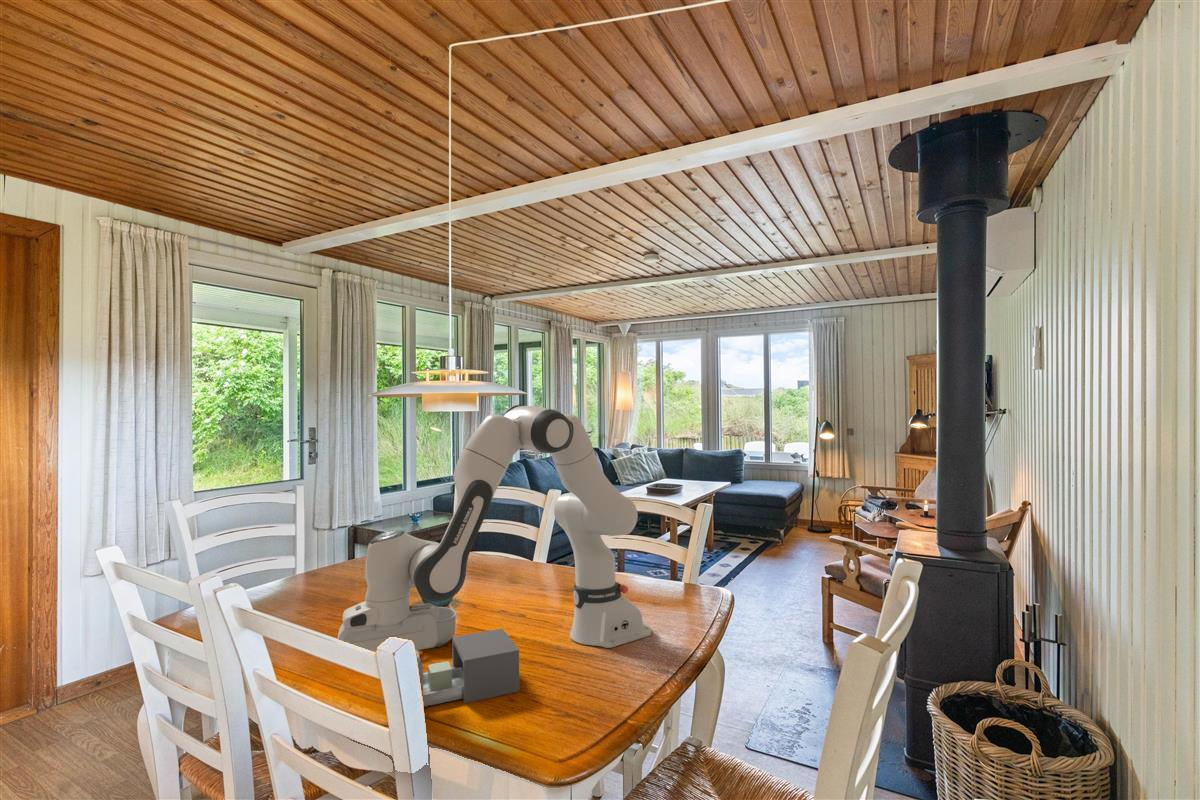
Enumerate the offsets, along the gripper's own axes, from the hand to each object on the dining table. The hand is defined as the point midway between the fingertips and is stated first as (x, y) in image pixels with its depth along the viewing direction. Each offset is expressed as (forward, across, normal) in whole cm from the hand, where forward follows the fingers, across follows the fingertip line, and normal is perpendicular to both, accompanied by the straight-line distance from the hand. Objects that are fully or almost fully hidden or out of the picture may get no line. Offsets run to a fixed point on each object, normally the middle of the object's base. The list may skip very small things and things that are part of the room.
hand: (388, 674), depth 119 cm
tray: (+6, -11, 0) cm, 12 cm away
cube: (+5, -11, 0) cm, 12 cm away
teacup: (+6, -13, -28) cm, 31 cm away
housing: (+6, -21, 0) cm, 21 cm away
